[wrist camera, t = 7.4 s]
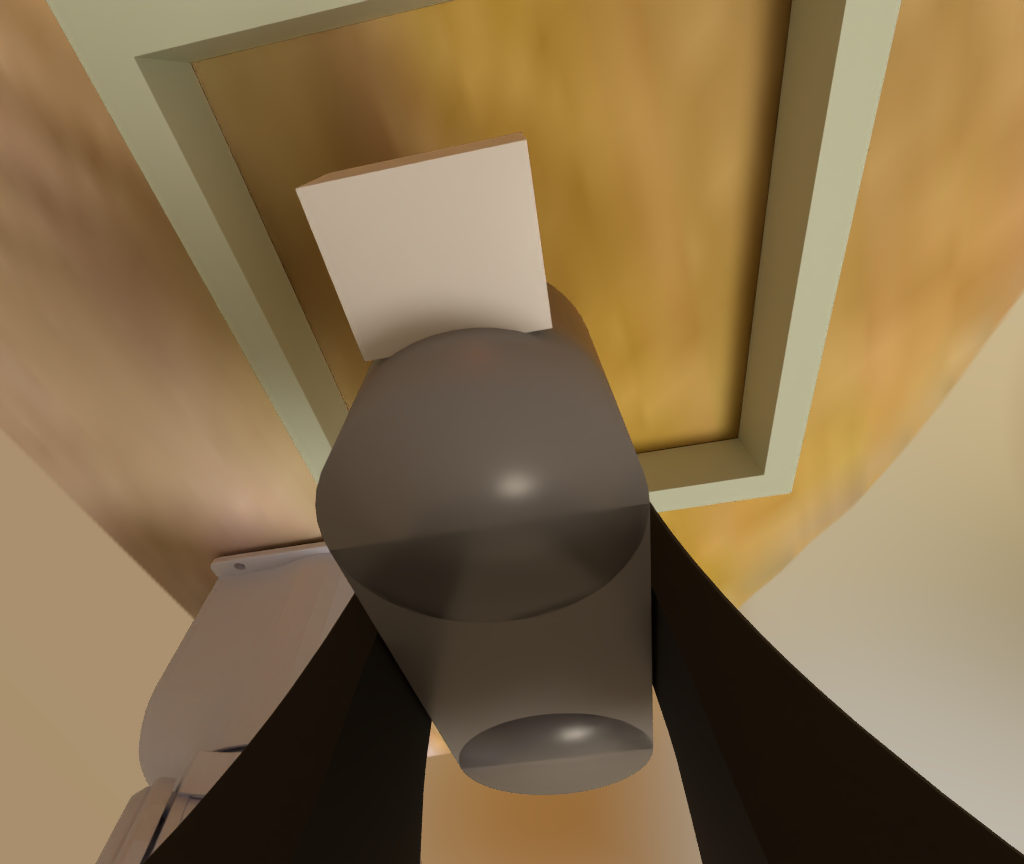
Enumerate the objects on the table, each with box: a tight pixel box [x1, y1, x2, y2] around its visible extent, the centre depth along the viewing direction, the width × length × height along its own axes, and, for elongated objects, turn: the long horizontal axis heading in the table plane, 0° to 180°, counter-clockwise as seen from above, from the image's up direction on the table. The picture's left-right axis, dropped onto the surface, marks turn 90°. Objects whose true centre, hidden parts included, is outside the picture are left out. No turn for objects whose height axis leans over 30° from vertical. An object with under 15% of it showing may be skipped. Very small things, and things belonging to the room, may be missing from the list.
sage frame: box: [46, 0, 901, 512], centre depth 15 cm, size 18×18×2 cm
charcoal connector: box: [295, 132, 653, 795], centre depth 9 cm, size 4×13×4 cm, turn 10°
